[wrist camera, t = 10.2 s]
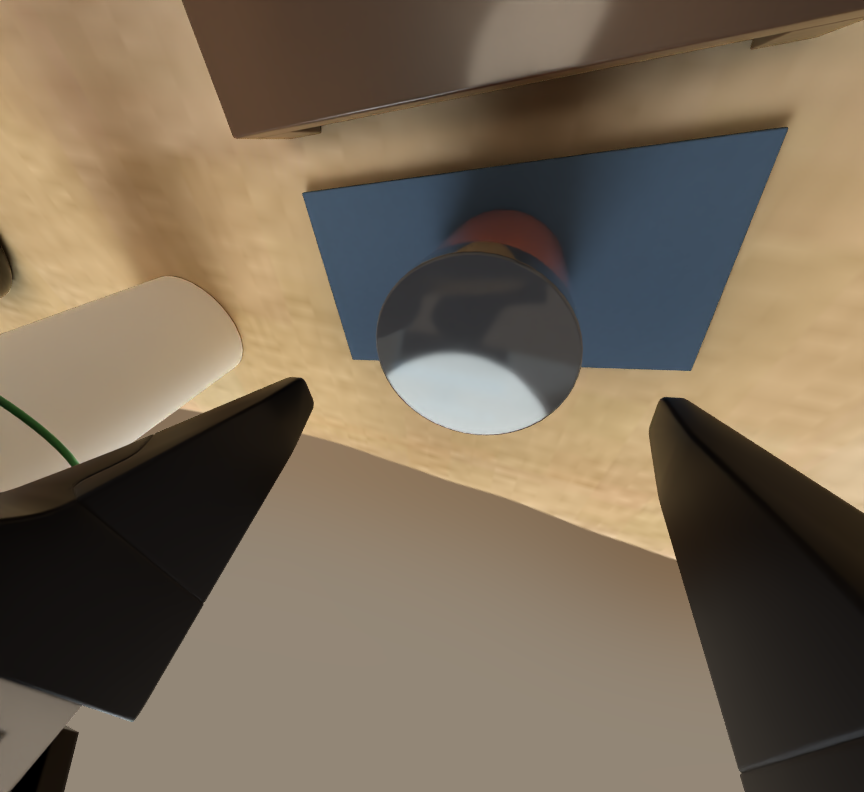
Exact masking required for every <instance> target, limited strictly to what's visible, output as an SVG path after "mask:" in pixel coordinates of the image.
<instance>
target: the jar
mask: <svg viewBox="0 0 864 792" xmlns="http://www.w3.org/2000/svg"><path fill="white" fill-rule="evenodd" d="M376 347H377V352H378V358H379V361H380V364H381V367H382V369H383V372H384V374H385V376H386V378H387V380H388V381H389V383H390V385H391V386H392V388H393V389H394V390H395V392H396V393H397V394H398V396H399V397H400V398H401V399H402V400H403V401H404V402H405V403H406V404H407V405H408V406H410V407H411V408H412V409H413V410H414V411H416V412H417V413H418V414H420V415H421V416H423V417H424V418H426V419H428V420H430V421H431V422H433V423H436V424H438V425H440V426H442V427H445V428H448V429H451V430H454V431H458V432H462V433H468V434H475V435H499V434H505V433H511V432H515V431H518V430H522V429H524V428H527V427H529V426H532V425H534V424H536V423H538V422H539V421H541V420H543V419H544V418H546V417H547V416H549V415H550V414H551V413H552V412H554V411H555V410H556V409H557V408H558V407H559V406H560V405H561V404H562V403H563V401H564V400H565V399H566V398H567V397H568V395H569V393H570V392H571V390H572V389H573V387H574V385H575V383H576V380H577V378H578V376H579V373H580V369H581V365H582V357H583V341H582V333H581V328H580V322H579V317H578V313H577V309H576V306H575V304H574V301H573V299H572V296H571V291H570V285H569V278H568V272H567V266H566V261H565V256H564V252H563V250H562V248H561V245H560V243H559V241H558V240H557V238H556V236H555V235H554V234H553V233H552V231H551V230H550V229H549V228H548V227H547V226H546V225H545V224H544V223H542V222H541V221H539V220H538V219H536V218H535V217H533V216H531V215H528V214H526V213H523V212H520V211H516V210H508V209H500V210H491V211H486V212H483V213H480V214H477V215H475V216H473V217H471V218H469V219H468V220H466V221H465V222H463V223H462V224H461V225H460V226H458V227H457V228H456V229H455V230H454V231H453V232H452V233H451V234H450V235H449V236H448V237H447V238H446V239H445V240H444V241H443V242H442V243H441V244H440V245H439V246H438V247H437V248H436V249H435V250H434V251H433V252H432V253H431V254H429V255H428V256H426V257H425V258H423V259H422V260H420V261H419V262H418V263H417V264H416V265H415V266H413V267H412V268H411V269H410V270H409V271H408V272H407V273H406V274H405V275H404V276H403V277H402V278H401V279H400V280H399V281H398V282H397V283H396V284H395V286H394V287H393V288H392V289H391V290H390V292H389V294H388V295H387V297H386V299H385V300H384V303H383V305H382V308H381V310H380V313H379V317H378V321H377V329H376Z"/></svg>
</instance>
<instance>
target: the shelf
mask: <svg viewBox="0 0 864 792" xmlns="http://www.w3.org/2000/svg"><path fill="white" fill-rule="evenodd" d="M182 2H183V5H184V8H185V10H186V13H187V15H188V18H189V21H190V23H191V26H192V29H193V31H194V34H195V37H196V39H197V42H198V45H199V47H200V50H201V53H202V55H203V58H204V60H205V63H206V66H207V68H208V71H209V74H210V76H211V79H212V82H213V84H214V87H215V90H216V92H217V95H218V98H219V100H220V103H221V105H222V108H223V111H224V113H225V116H226V119H227V121H228V124H229V127H230V129H231V132H232V135H233V137H234V138H236V139H293V138H298V137H303V136H308V135H313V134H318V133H321V130H320V126H322V125H327V124H332V123H337V122H342V121H347V120H351V119H356V118H361V117H366V116H371V115H376V114H381V113H386V112H391V111H396V110H401V109H406V108H411V107H416V106H421V105H426V104H431V103H436V102H441V101H446V100H451V99H456V98H461V97H466V96H471V95H476V94H481V93H486V92H491V91H496V90H501V89H506V88H511V87H516V86H521V85H526V84H531V83H536V82H541V81H546V80H551V79H556V78H561V77H566V76H571V75H576V74H581V73H586V72H591V71H596V70H600V69H605V68H610V67H615V66H620V65H625V64H630V63H635V62H640V61H645V60H650V59H655V58H660V57H665V56H670V55H675V54H680V53H685V52H690V51H695V50H700V49H705V48H710V47H715V46H720V45H725V44H730V43H735V42H740V41H745V40H750V39H753V41H752V45H751V49H752V50H753V49H758V48H763V47H768V46H774V45H779V44H784V43H789V42H794V41H799V40H805V39H810V38H815V37H819V36H821V35H824V34H827V33H829V32H832V31H835V30H837V29H840V28H843V27H845V26H848V25H851V24H853V23H856V22H859V21H861V20H864V0H182Z"/></svg>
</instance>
